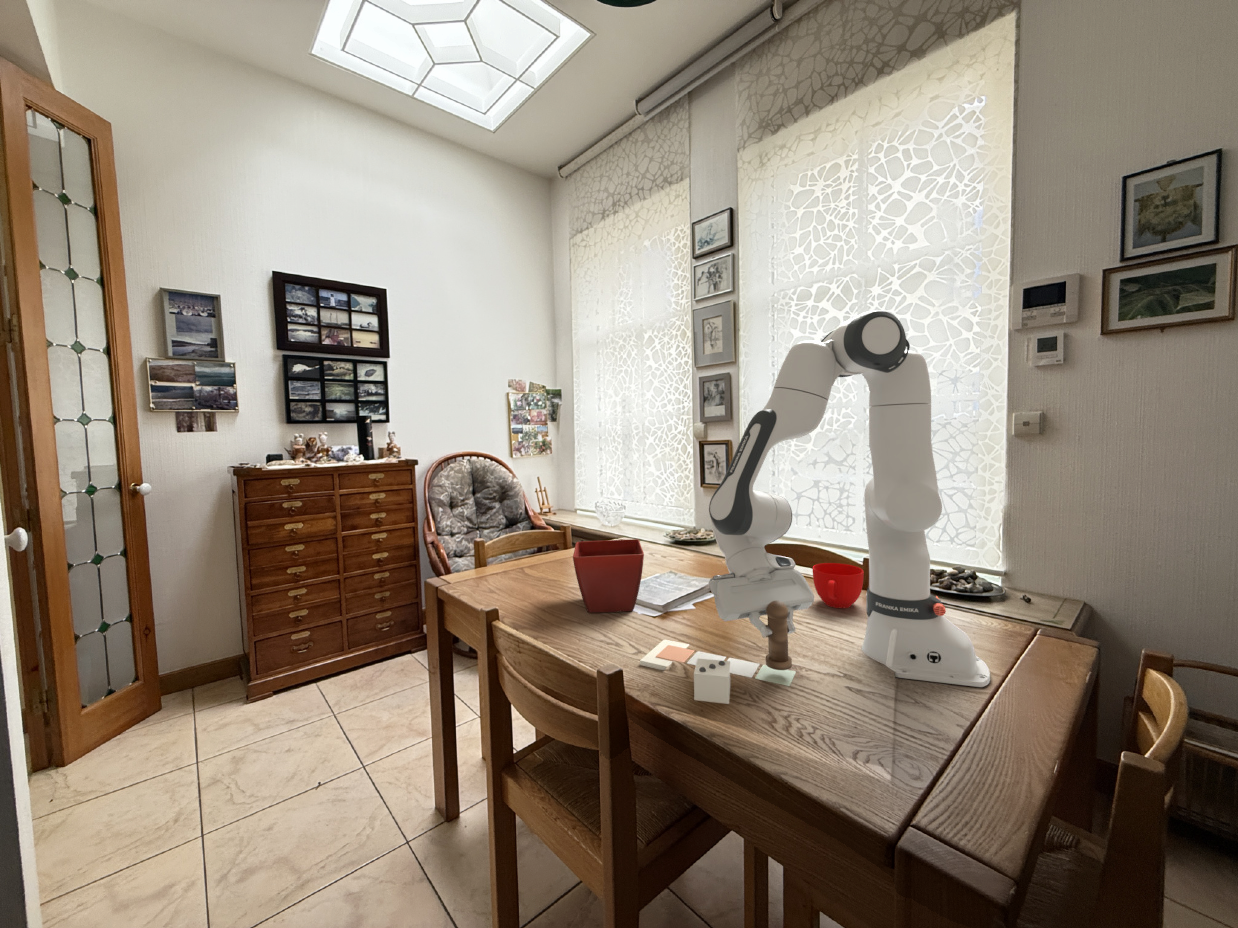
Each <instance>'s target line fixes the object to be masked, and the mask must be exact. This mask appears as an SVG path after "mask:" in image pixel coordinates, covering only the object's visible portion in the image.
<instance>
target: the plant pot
mask: <svg viewBox="0 0 1238 928" xmlns="http://www.w3.org/2000/svg"><path fill="white" fill-rule="evenodd" d="M644 558H645V553H644V550H643V548H642V545H641V542H640V539H636V538H635V539H609V540H607V539H605V540H586V541H585V540H583V541H576V542H575V546H574V550H573V556H572V560H573V565H574V566H573V567H574V571H575V576H576V581H577V585H578V588H579V591H580V595H581V598H582V601H583V603H584V606H585V609H586V611H587V613H589V614H597V613H615V612H616V613H618V612H632V611H634V609H635V607H636V603H637V600H638V596H639V591H640V587H641V582H642V576H643V570H644V569H643V567H644V561H645V560H644Z"/></svg>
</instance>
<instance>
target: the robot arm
mask: <svg viewBox="0 0 1238 928" xmlns="http://www.w3.org/2000/svg"><path fill="white" fill-rule="evenodd" d="M910 347H911V346H910V342H909V340H908V338H907V336H906V331H905V328H904V325H903V324H902V323H901V321H900V319H898V317H897V316H895V315H894V313H893V314H892V313H891V312H889V311H887V310H886V311H885V310H870V311H865V312H862V313H860V314H858V315H856V316H855V317H852V318H850V319H847V320H846V321H844V322H842V323H841V324H840V325H839V326H837V327H836V328H835V329H834V330H831V332H829V333H827V335H826V336H824V337H823V339H822V340H821V341H816V340H803V341H800V342H798V343H796V344H794V345H793V346H792V347H791V348H790V349H789V351H788V353H787V355H786V356H785V358H784V361H783V363H782V364H781V367H780V369H779V370H778V371H779V372H778V374H777V378H776V380H775V382H774V383H775V384H774V386H773V389H772V392H771V394H770V397H769V399H768V401H767V403H766V404H765V406H764V407H763V408H762V410H759V411H758V412H756V413H755V414H754V415H753V416H752V417H751V420H750V421H749V423H748V424H747V426H746V429H745V430H744V432H743V434H742V438H741V439H740V441H739V443H738V446H737V449H736V451H735V453H734V455H733V457H732V460H731V462H730V464H729V465H728V468H727V471H726V472H725V475H724V477H723V479H722V481H721V482H720V484H719V485H718V486H717V488H716V489H715V492H714V493H713V494H712V497H711V498H710V501H709V505H708V506H709V507H708V511H709V517H710V521H711V527H712V529H711V530H712V532H713V535H714V539H715V540H716V543H717V547H718V548H719V550H720V552H721V553H722V554H723V556H724V558H725V565H726V568H727V570H728V573H725V574H716V575H713V576H712V577H711V578H710V579H709V580H708V587H709V589H710V591H711V593H712V595H713V598H714V603H715V608H716V612H717V614H718V617H719V619H721V620H722V621H724V622H728V621H729V622H731V621H735V620H743V619H749V620H748V621H749V622H750V623H751V625H753V626H754V627H755V628H756V629H757V630H759V633H760V634H761V636H762V638H768V637H770V636H771V635H772V634H773V633H772V630H771V627H770V625H768V624H765V623H764V621H762V620H761V619H760V617H763V616H767V613H766V609H767V606H768V604H769V603H770V602H772V601H780V602H782V603H784V604H785V605H786V607H787V609H788V616H787V629H788V634H794V633H795V632H796V626H795V624H794V622H793V620H794V611H802V610H807V609H809V608H810V607H811V606H812V605H813V603H814V600H815V595H814V592H813V590H812V588H811V586H810V585H809V583H808V581H807V579H806V578H805V577H804V575H803V574H802V573H801V572H800V571H799V570H797V569H796V568H795V567H796V562H795V561H794V559H793V558H791V557H786V556H782V555H777V554H774V553H773V554H772V553H769V552H767V551H766V549H765V546H766V545H769V544H771V543H773V542H775V541H777V540H780V539H781V537H783V536H784V535H786V534H787V533H788V532H789V529H790V528H791V526H792V522H793V511H792V507H791V505H790V504H789V501H788V500H787V499H786V498H785V497H784V496H780V495H778V494H774V493H769V492H766V491H759V490H757V489H756V490H755V489H754V484H755V482H756V480H757V479H758V475H759V473H760V471H761V468H762V467H763V464H764V461H765V460H766V457H767V455H768V454H769V452H770V451H771V450H772V448H773V447H775V446H776V445H778V444H780V443H781V442H784V441H788V440H789V441H790V440H794V439H798V438H803V437H804V436H807V435H809V434H811V433H813V432H814V431H815V430H816V429H817V428H818V427H819V425H820V423H821V422H822V419H823V418H824V416H825V412H826V409H827V406H828V402H829V400H830V397H831V391H832V388H833V386H834V384H835V382H836V380H837V379H838V378H848V377H851V376H855V375H857V376H858V375H862V376H863V377H864V379H865V381H866V383H867V385H868V386H867V387H868V390H869V397H868V440H869V441H868V444H869V445H868V446H869V451H870V456H871V465H872V473H873V476H872V478H871V479H870V480H869V481H868V482H867V483H866V486H865V489H864V512H865V513H864V516H865V527H866V536H867V543H868V544H867V547H868V587H867V588H866V593H865V611H866V614H867V620H866V622H867V623H866V627H865V629H866V630H865V634H864V638H863V642H862V645H861V648H860V649H861V651H862V652H863V653H864V655H865V656H867V657H869V658H870V659H872V660H874V661H875V662H878V663H880V664H882V665H884V666H886V667H887V668H888V669H890V670H891V671H893V672H894V677H896V678H900V679H909V680H915V681H917V680H918V681H925V682H935V683H942V684H949V685H951V684H952V685H958V686H969V687H976V688H984V687H986V686H987V685H989V684H990V682H991V673H990V668H989V666H988V665H987V664H986V662H985V661H984V660H983V659H982V658H980V657H979V656H978V655H976V650H975V647H974V644H973V642H972V640H971V638H970V636H968V634H967V633H966V632H965V631H963V630H962V629H961V628H959V627H958V626H957V625H955V624H954V623H953V622H952V621H950V620H949V619H948V618H946V616H945V614H946V612H947V611H946V607H945V605H944V604H943V602H942V601H941V600H940V598H939V597H938V596H937V595H935V596H934V595H933V594H931V556H930V553H929V548H928V545H927V538H926V532H925V531H926V530H928V529H929V528H931V527H933V526H935V524H936V523H937V522H938V520H939V519H940V517H941V515H942V511H943V504H942V503H943V502H942V500H941V497H940V494H939V487H938V477H937V471H936V466H935V465H936V463H935V460H934V454H933V447H932V446H933V445H932V389H931V380H930V374H929V370H928V366H927V361H926V359H925V358H924V356H923V355H922V354H920V353H919V352H917V351H913V350H910Z"/></svg>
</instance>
